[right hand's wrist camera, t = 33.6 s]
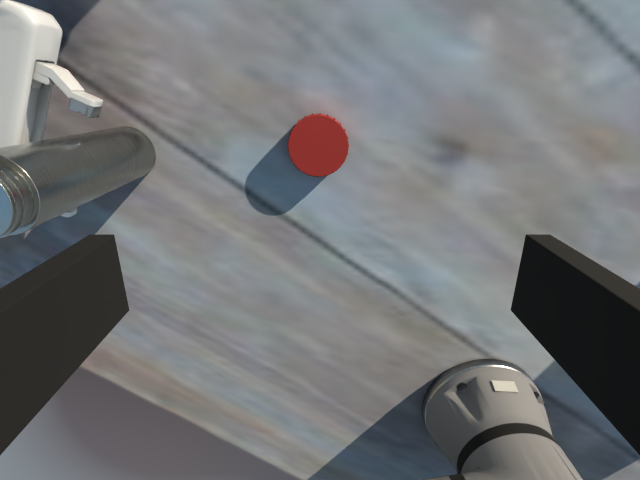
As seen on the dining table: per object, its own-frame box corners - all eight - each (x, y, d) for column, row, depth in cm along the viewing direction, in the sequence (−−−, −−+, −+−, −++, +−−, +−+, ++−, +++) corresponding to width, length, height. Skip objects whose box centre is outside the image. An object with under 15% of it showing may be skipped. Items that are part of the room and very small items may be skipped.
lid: (354, 121, 39) (356, 123, 37) (339, 179, 41) (339, 183, 39) (296, 106, 38) (295, 106, 36) (283, 165, 40) (281, 169, 39)
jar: (140, 187, 41) (-1, 262, 23) (95, 157, 40) (-91, 211, 22) (164, 147, 40) (33, 194, 22) (118, 115, 39) (-61, 136, 20)
